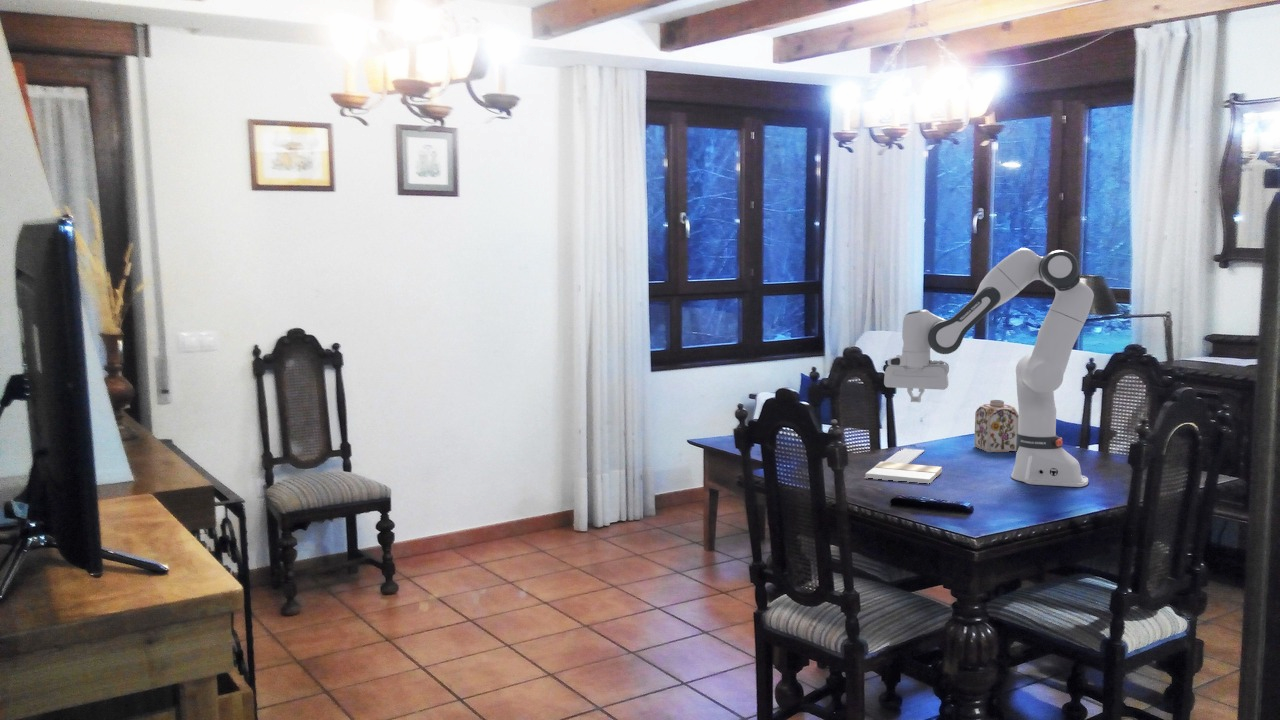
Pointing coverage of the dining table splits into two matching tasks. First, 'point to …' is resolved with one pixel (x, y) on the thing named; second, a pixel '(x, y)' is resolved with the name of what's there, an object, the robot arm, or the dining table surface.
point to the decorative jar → (996, 427)
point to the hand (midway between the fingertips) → (915, 402)
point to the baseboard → (905, 455)
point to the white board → (900, 475)
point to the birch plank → (910, 467)
